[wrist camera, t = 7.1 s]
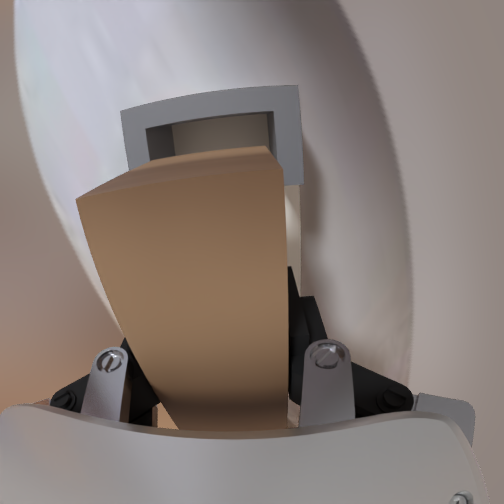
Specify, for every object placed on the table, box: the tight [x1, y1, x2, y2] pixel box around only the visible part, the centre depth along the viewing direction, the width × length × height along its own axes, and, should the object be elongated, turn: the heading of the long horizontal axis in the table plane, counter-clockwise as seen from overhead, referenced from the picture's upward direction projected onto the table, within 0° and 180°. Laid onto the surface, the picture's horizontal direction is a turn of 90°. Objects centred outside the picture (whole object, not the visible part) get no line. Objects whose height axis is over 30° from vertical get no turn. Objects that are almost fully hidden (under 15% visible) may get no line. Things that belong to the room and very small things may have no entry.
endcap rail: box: [120, 85, 304, 297], centre depth 15 cm, size 16×8×5 cm, turn 5°
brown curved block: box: [76, 146, 288, 431], centre depth 9 cm, size 12×4×5 cm, turn 5°
